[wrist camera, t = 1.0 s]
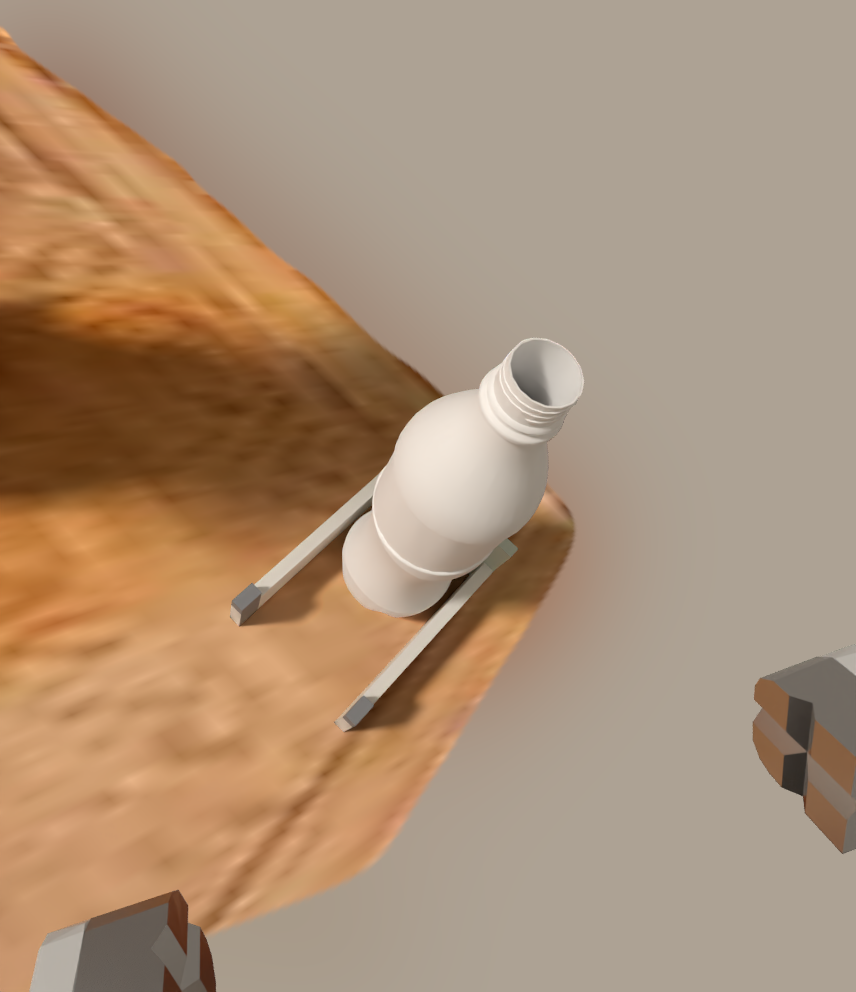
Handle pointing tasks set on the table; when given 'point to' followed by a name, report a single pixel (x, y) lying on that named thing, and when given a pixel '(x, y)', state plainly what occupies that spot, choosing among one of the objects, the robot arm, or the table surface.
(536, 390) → the water bottle
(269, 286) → the table surface
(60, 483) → the table surface
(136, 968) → the robot arm
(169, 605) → the table surface
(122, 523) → the table surface
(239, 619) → the bay
